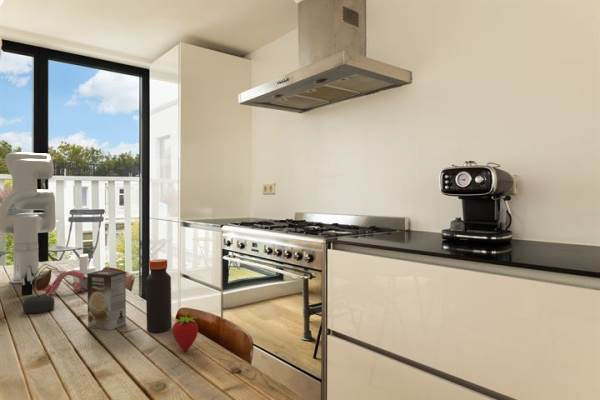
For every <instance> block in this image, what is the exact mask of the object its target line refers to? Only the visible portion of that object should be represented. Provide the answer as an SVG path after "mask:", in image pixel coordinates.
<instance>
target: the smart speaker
mask: <svg viewBox="0 0 600 400" xmlns="http://www.w3.org/2000/svg"><path fill="white" fill-rule="evenodd" d="M54 308H55V298H54V297H53V296H47V295H46V296H38V297H31V298H29V299H26V300H24V301H23V303H22V312H23V313H25V314H29V315H32V314H33V315H35V314H36V315H37V314H41V313H42V314H43V313H46V312H49V311H51V310H53V309H54Z"/></svg>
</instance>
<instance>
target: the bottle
mask: <svg viewBox="0 0 600 400" xmlns="http://www.w3.org/2000/svg"><path fill="white" fill-rule="evenodd" d="M148 264H149V266H148V267H149V271H150V274H149V275H148V276H147V277H146V279H145V289H146V291H145V292H146V293H145V294H146V295H145V296H146V299H145V300H146V301H145V302H146V304H145V305H146V331H147V332H149V333H151V334H158V333H165V332H168V331H169V330H171V329H172V328H173V325H172V322H173V321H172V278H171V277H172V276H171V275H170V274H169V273H168V272H167V270H168V259H167V258H166V259H165V258H162V259H161V258H157V259H151V260H149V262H148Z"/></svg>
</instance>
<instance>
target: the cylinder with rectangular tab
mask: <svg viewBox="0 0 600 400" xmlns="http://www.w3.org/2000/svg"><path fill="white" fill-rule="evenodd" d="M89 256H90V255H89V253H82V254H80V255H79V258H78V259H79V264H78V265H79V266H77V267H74V268H72V270H73V271H77V272H79V273H81V272H83V274H85V275H87V274H88V273H92V272H96V266H91V265H90V263H89V262H90V261H89ZM73 282H78V283H79V278H77V277H75V276H72V283H73Z"/></svg>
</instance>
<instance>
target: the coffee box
mask: <svg viewBox="0 0 600 400" xmlns="http://www.w3.org/2000/svg"><path fill="white" fill-rule="evenodd" d="M126 273H127V272H126V271H122V270H121V271H120V270H111V269H100V270H98V271H96V270H95V272H92V273H88V274H87V289H88V290H87V327H88V328H92V329H93V328H94V329H98V330H99V329H100V330H106V331H107V330H108V331H112V330H114V329H117V328H119V327H121V326H124V325H126V324H127V317H126V316H127V314H126V313H127V307H126V304H127V302H126V301H127V300H126V298H127V295H126V294H127V293H126V292H127V291H126V289H127V288H126V287H127V286H126V285H127V284H126V281H127V279H126Z"/></svg>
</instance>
